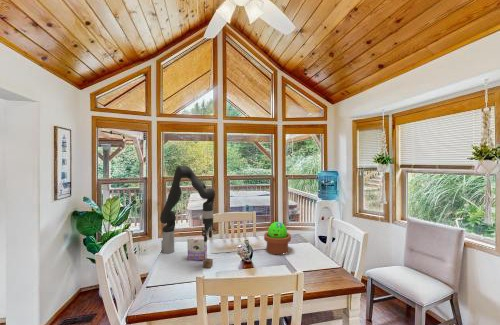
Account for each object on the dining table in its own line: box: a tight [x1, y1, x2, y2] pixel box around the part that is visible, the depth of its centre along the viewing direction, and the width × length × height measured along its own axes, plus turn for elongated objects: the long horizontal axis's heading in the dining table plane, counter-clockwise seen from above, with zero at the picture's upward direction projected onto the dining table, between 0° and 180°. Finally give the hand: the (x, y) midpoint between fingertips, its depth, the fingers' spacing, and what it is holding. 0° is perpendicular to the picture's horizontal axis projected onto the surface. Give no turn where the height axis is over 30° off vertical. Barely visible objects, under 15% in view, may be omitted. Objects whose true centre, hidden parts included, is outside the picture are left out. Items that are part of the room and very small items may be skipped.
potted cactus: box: [263, 221, 292, 255], centre depth 206 cm, size 22×22×25 cm
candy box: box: [187, 236, 208, 262], centre depth 188 cm, size 14×6×16 cm, turn 84°
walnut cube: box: [202, 257, 214, 270], centre depth 176 cm, size 5×5×5 cm
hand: (207, 239), depth 175 cm, fingers open, 8 cm apart
